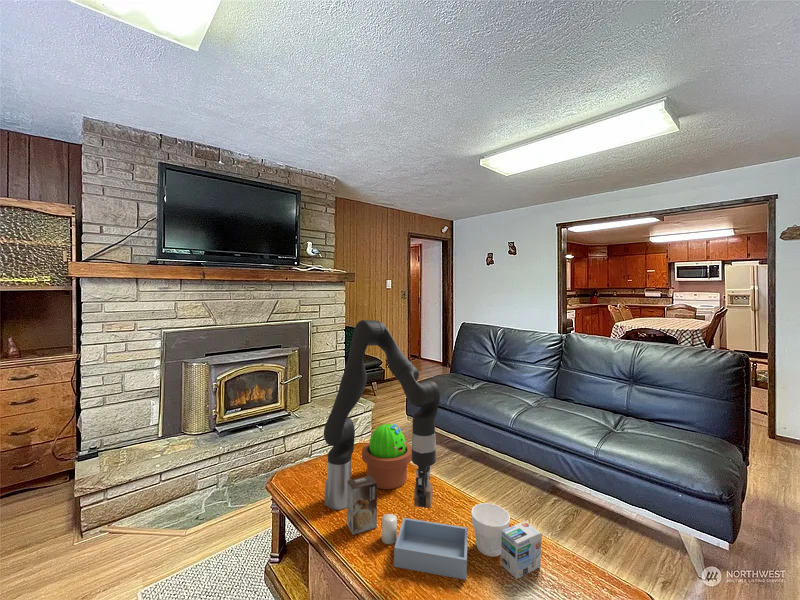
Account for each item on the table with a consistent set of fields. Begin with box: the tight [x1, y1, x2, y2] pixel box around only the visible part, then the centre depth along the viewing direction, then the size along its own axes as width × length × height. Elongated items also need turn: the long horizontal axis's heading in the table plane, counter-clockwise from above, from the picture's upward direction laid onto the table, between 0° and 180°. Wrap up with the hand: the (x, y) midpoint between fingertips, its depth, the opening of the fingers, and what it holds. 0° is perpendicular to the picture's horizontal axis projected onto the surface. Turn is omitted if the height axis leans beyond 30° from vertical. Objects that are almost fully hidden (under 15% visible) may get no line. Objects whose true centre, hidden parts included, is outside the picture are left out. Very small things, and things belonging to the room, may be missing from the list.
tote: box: [393, 517, 469, 581], centre depth 111 cm, size 22×15×6 cm
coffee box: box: [346, 475, 378, 535], centre depth 124 cm, size 9×6×16 cm
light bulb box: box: [500, 520, 543, 580], centre depth 107 cm, size 11×7×11 cm, turn 119°
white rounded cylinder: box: [381, 513, 398, 545], centre depth 118 cm, size 5×5×7 cm
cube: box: [413, 482, 434, 509], centre depth 109 cm, size 5×5×5 cm
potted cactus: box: [361, 422, 412, 490], centre depth 156 cm, size 22×22×25 cm
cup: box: [470, 502, 511, 557], centre depth 115 cm, size 12×12×11 cm
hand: (423, 501), depth 109 cm, fingers closed on cube, 5 cm apart
